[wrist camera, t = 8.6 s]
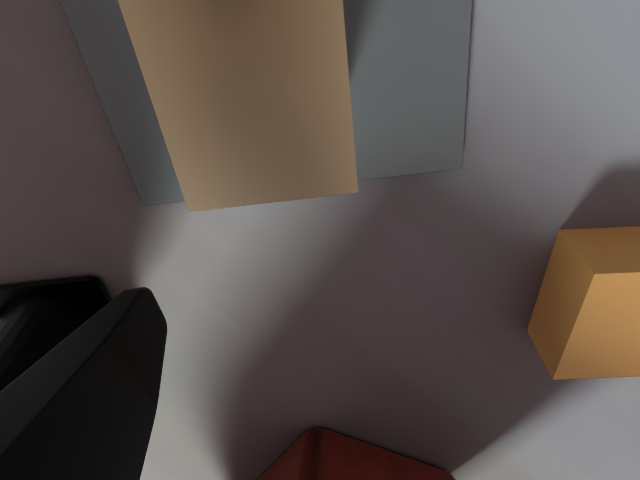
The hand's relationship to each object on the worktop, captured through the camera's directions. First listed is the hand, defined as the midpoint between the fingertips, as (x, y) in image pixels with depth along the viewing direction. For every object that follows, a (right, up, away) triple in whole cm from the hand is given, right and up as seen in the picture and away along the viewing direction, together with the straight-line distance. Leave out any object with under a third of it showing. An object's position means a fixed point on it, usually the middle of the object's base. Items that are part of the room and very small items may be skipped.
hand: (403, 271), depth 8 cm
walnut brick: (-3, +6, +5) cm, 9 cm away
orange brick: (+13, -2, +16) cm, 21 cm away
